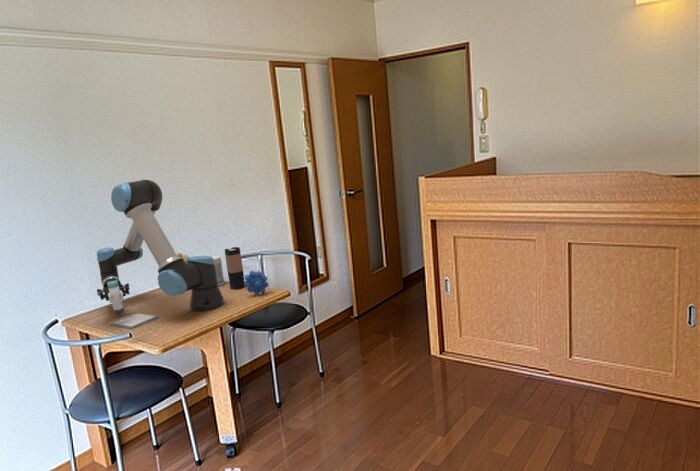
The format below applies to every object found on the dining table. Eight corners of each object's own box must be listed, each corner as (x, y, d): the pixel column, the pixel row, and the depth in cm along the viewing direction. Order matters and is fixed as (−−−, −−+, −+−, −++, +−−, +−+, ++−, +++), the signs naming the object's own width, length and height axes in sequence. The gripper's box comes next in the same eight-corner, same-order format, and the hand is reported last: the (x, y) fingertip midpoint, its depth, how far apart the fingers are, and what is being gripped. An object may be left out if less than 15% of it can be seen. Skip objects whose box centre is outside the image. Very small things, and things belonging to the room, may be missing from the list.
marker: (126, 311, 226) (119, 280, 223) (118, 315, 222) (110, 283, 219) (121, 310, 228) (113, 280, 225) (112, 314, 224) (104, 283, 222)
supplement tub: (203, 288, 269) (199, 260, 266) (208, 283, 278) (204, 256, 275) (222, 286, 268) (218, 259, 265) (226, 281, 278) (222, 254, 275)
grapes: (248, 299, 243) (244, 274, 240) (244, 296, 249) (240, 271, 246) (272, 294, 248) (269, 269, 245) (267, 290, 254) (264, 266, 251)
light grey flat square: (158, 317, 230) (158, 314, 230) (131, 329, 218) (130, 326, 218) (138, 314, 237) (138, 311, 237) (110, 325, 226) (110, 322, 225)
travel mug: (241, 289, 260) (236, 250, 256) (227, 290, 262) (221, 251, 258) (247, 284, 267) (242, 246, 264) (233, 285, 269) (228, 247, 265)
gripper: (133, 289, 244) (139, 302, 224) (93, 297, 237) (95, 311, 216) (130, 274, 243) (136, 285, 223) (90, 281, 235) (92, 294, 215)
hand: (116, 298), depth 219 cm, fingers closed on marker, 4 cm apart
